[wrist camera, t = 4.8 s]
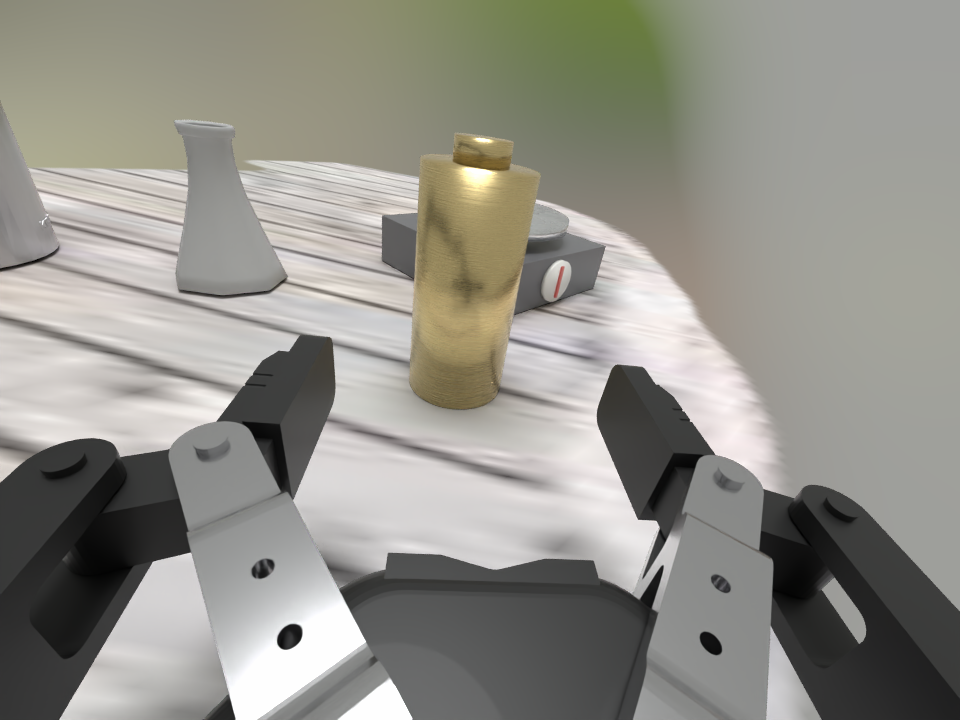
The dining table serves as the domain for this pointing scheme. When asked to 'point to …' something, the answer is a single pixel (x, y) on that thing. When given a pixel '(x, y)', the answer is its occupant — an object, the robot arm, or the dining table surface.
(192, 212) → the flask
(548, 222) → the scale pan
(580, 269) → the base
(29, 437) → the dining table surface
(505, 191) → the brass weight
